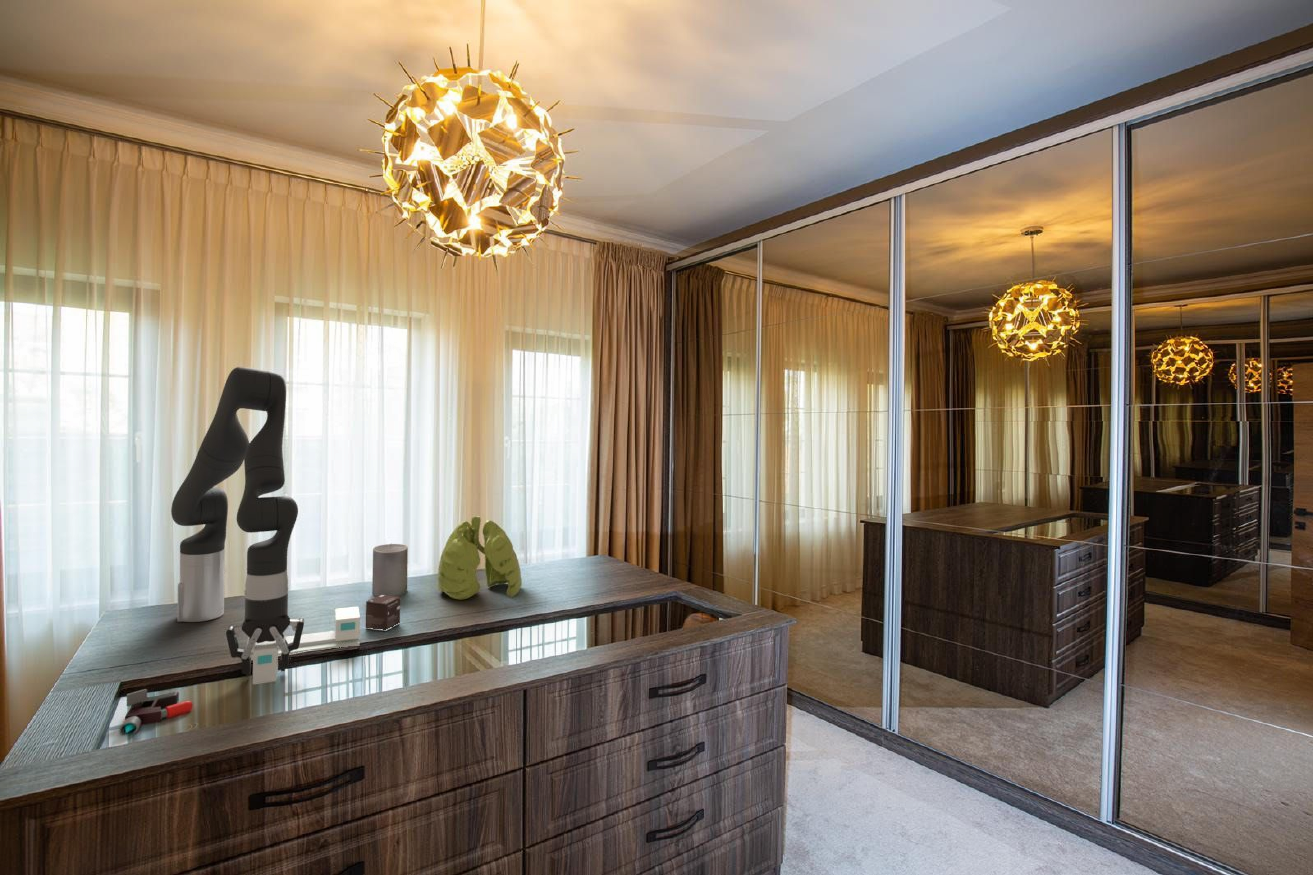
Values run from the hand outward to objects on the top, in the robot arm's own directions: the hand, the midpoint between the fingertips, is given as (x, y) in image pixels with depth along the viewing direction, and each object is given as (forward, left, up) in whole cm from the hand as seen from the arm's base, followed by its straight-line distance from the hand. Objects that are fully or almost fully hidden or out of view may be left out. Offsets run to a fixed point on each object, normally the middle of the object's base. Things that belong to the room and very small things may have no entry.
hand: (265, 671), depth 128 cm
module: (0, 0, -1) cm, 1 cm away
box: (+24, +21, -1) cm, 32 cm away
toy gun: (-16, -11, -2) cm, 19 cm away
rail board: (+7, +13, -1) cm, 15 cm away
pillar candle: (+28, +49, -1) cm, 56 cm away
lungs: (+53, +41, -1) cm, 67 cm away
